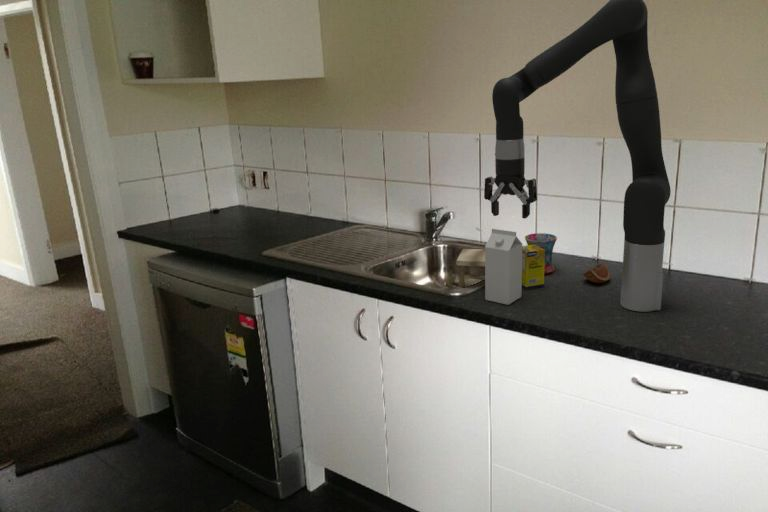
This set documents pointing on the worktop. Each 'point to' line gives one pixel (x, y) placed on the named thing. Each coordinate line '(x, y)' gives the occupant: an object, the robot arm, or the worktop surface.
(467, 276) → the stool
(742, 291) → the worktop surface
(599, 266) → the fruit slice
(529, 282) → the supplement box
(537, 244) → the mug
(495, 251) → the white milk carton
